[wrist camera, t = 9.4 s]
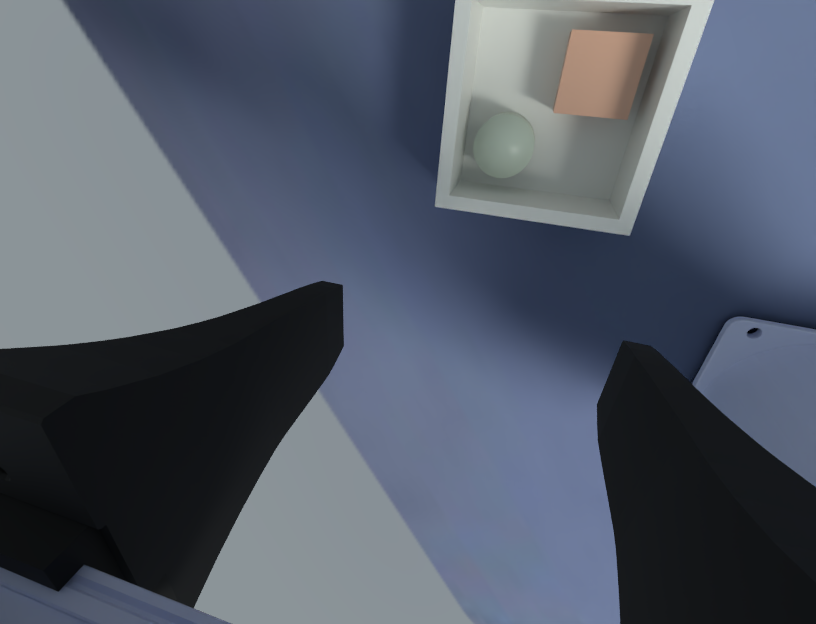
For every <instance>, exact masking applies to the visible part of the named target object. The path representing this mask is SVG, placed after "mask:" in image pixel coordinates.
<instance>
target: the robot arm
mask: <svg viewBox="0 0 816 624" xmlns="http://www.w3.org/2000/svg"><path fill="white" fill-rule="evenodd" d="M752 328H758V330H757V331H756V332H754V333H752V334H747V332H748V331H749V330H750V329H752ZM343 346H344V335H343V285H340V284H335V283H330V282H325V281H320V282H316V283H313V284H310V285H307V286H304V287H301V288H298V289H296V290H293V291H290V292H288V293H285V294H282V295H280V296H277V297H275V298H272V299H269V300H267V301H264V302H261V303H259V304H256V305H253V306H250V307H247V308H244V309H241V310H238V311H235V312H232V313H229V314H226V315H223V316H220V317H217V318H213V319H210V320H206V321H203V322H199V323H195V324H191V325H187V326H183V327H179V328H174V329H170V330H164V331H159V332H154V333H148V334H142V335H137V336H132V337H126V338H119V339H113V340H105V341H97V342H88V343H79V344H69V345H58V346H43V347H27V348H11V349H0V624H231V623H228V622H226V621H224V620H221V619H218V618H216V617H213V616H211V615H209V614H206V613H204V612H201V611H199V610H196V609H194V606H195V604H196V602H197V599H198V597H199V595H200V593H201V591H202V589H203V587H204V584H205V582H206V580H207V578H208V576H209V574H210V572H211V570H212V568H213V565H214V563H215V561H216V559H217V557H218V555H219V553H220V551H221V549H222V547H223V545H224V543H225V541H226V539H227V537H228V535H229V533H230V531H231V529H232V527H233V525H234V523H235V521H236V519H237V518H238V516H239V514H240V512H241V510H242V508H243V506H244V504H245V503H246V501H247V499H248V497H249V495H250V493H251V491H252V490H253V488H254V486H255V484H256V482H257V481H258V479H259V477H260V475H261V474H262V472H263V470H264V468H265V467H266V465H267V463H268V461H269V460H270V458H271V456H272V455H273V453H274V451H275V449H276V448H277V446H278V445H279V443H280V442H281V440H282V438H283V437H284V436H285V434H286V433H287V431H288V430H289V429H290V427H291V426H292V425H293V423H294V422H295V420H296V419H297V418H298V416H299V415H300V414H301V412H302V411H303V410H304V408H305V407H306V406H307V404H308V403H309V401H310V400H311V399H312V397H313V396H314V395H315V393H316V392H317V390H318V389H319V388H320V386H321V385H322V384H323V382H324V381H325V379H326V378H327V376H328V375H329V373H330V371H331V370H332V368H333V366H334V364H335V362H336V360H337V358H338V356H339V354H340V352H341V350H342V348H343ZM597 429H598V444H599V450H600V456H601V462H602V468H603V473H604V479H605V485H606V490H607V496H608V501H609V507H610V512H611V518H612V524H613V530H614V537H615V545H616V555H617V570H618V585H619V602H620V624H816V329H811V328H805V327H799V326H794V325H788V324H782V323H777V322H771V321H766V320H760V319H754V318H749V317H740V316H738V317H734V318H731V319H729V320H728V321H727V322H726V323H725V324H724V326H723V328H722V330H721V332H720V333H719V335H718V337H717V339H716V341H715V343H714V344H713V346H712V348H711V350H710V352H709V354H708V355H707V357H706V359H705V361H704V363H703V365H702V366H701V368H700V370H699V372H698V374H697V376H696V377H695V379H694V381H693V383H692V384H691V383H690V382H689V381H688V380H687V379H686V378H685V377H684V376H683V375H682V374H681V373H680V372H679V371H678V370H677V369H676V368H675V367H674V366H673V365H672V364H671V363H670V362H668V361H667V360H666V359H665V358H664V357H663V356H662V355H661V354H660V353H659V352H658V351H656V350H655V349H654V348H653V347H651V346H648V345H643V344H638V343H633V342H628V341H623V342H622V344H621V347H620V349H619V352H618V354H617V357H616V359H615V362H614V364H613V366H612V369H611V371H610V374H609V376H608V379H607V381H606V384H605V386H604V389H603V391H602V394H601V396H600V398H599V401H598V403H597Z"/></svg>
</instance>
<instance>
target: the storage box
mask: <svg viewBox="0 0 816 624" xmlns="http://www.w3.org/2000/svg"><path fill="white" fill-rule="evenodd" d="M713 3H714V0H455V9H454V19H453V29H452V39H451V49H450V59H449V69H448V79H447V89H446V99H445V109H444V119H443V129H442V139H441V149H440V159H439V169H438V179H437V189H436V199H435V207H440V208H446V209H453V210H460V211H466V212H473V213H480V214H487V215H493V216H500V217H507V218H513V219H520V220H527V221H533V222H540V223H547V224H554V225H560V226H567V227H574V228H580V229H587V230H594V231H600V232H607V233H614V234H621V235H627V236H630V234H631V231H632V228H633V225H634V223H635V220H636V217H637V214H638V211H639V209H640V206H641V203H642V200H643V197H644V195H645V192H646V189H647V186H648V184H649V181H650V178H651V175H652V172H653V170H654V167H655V164H656V161H657V159H658V156H659V153H660V150H661V147H662V145H663V142H664V139H665V136H666V133H667V131H668V128H669V125H670V122H671V120H672V117H673V114H674V111H675V108H676V106H677V103H678V100H679V97H680V94H681V92H682V89H683V86H684V83H685V81H686V78H687V75H688V72H689V69H690V67H691V64H692V61H693V58H694V56H695V53H696V50H697V47H698V44H699V42H700V39H701V36H702V33H703V30H704V28H705V25H706V22H707V19H708V17H709V14H710V11H711V8H712V5H713Z"/></svg>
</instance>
